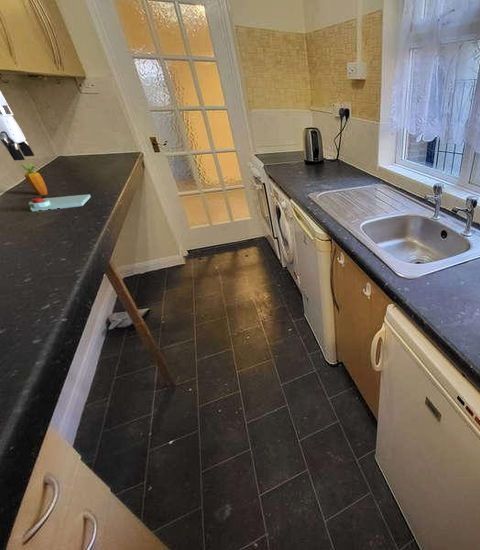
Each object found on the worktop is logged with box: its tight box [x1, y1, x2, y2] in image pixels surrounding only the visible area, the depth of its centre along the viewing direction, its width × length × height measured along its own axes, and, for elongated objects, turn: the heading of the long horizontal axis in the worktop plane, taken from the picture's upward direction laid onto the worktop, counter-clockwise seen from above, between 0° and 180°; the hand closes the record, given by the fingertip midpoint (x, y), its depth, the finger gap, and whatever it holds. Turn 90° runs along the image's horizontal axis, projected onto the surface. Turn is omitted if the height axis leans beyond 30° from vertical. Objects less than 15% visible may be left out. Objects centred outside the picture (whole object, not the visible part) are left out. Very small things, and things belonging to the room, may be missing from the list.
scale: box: [27, 194, 92, 212], centre depth 125 cm, size 16×14×3 cm
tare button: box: [31, 197, 44, 203], centre depth 119 cm, size 3×3×2 cm
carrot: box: [21, 163, 48, 199], centre depth 128 cm, size 5×5×15 cm
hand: (24, 158), depth 123 cm, fingers open, 9 cm apart
